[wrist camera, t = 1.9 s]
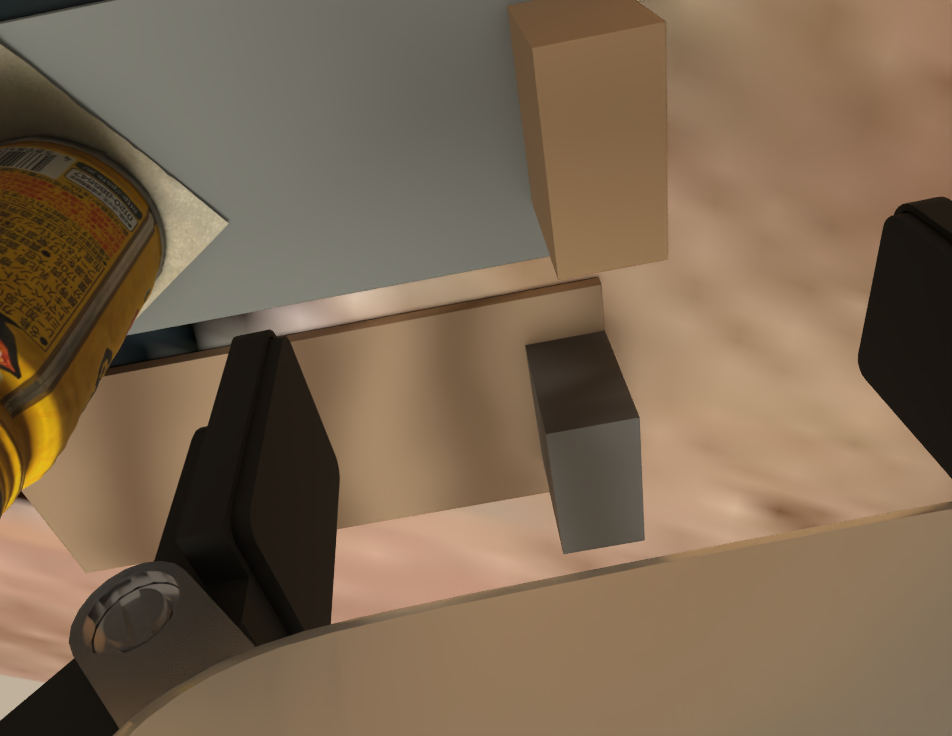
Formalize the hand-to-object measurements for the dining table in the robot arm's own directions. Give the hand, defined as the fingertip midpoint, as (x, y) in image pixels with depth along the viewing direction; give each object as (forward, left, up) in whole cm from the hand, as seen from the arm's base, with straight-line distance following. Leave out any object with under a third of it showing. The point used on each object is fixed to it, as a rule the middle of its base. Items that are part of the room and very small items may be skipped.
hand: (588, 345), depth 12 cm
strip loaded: (+8, 0, -13) cm, 16 cm away
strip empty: (+9, +12, -13) cm, 20 cm away
